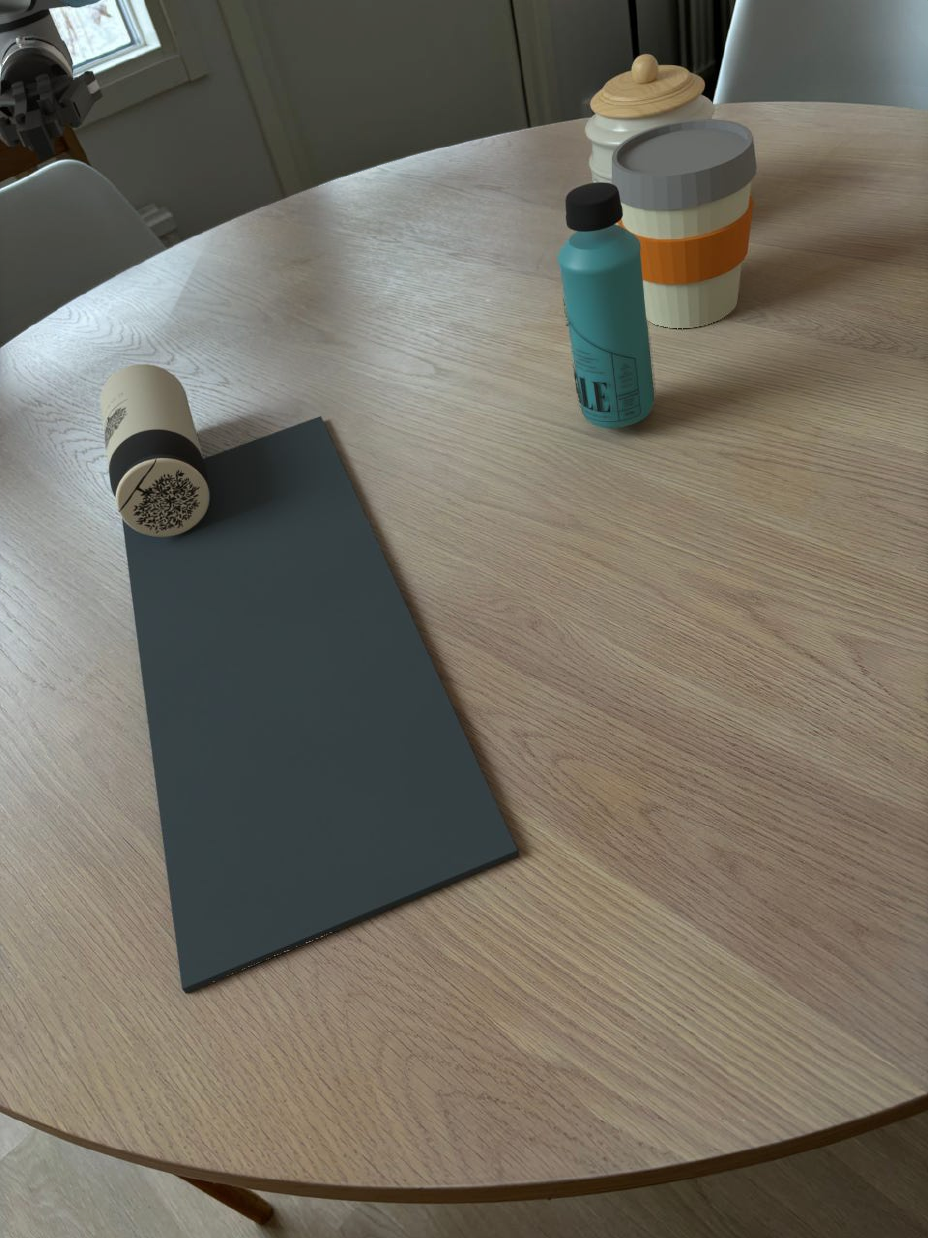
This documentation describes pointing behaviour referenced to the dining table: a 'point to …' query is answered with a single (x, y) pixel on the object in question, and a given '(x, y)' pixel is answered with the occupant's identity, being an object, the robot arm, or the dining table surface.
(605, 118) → the jar
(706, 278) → the reusable coffee cup
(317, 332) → the dining table surface
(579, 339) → the beverage bottle
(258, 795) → the mat
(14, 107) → the robot arm
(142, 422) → the travel mug
